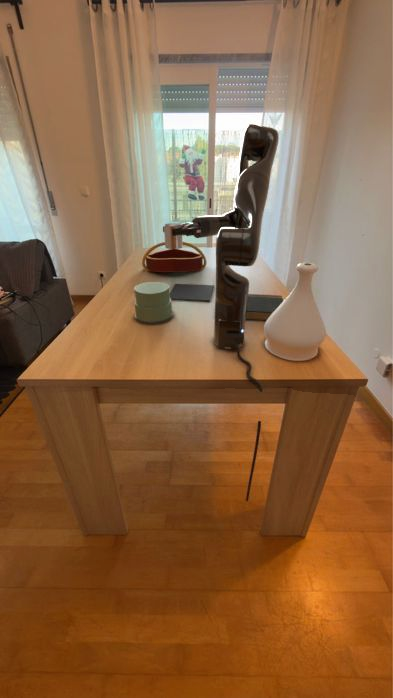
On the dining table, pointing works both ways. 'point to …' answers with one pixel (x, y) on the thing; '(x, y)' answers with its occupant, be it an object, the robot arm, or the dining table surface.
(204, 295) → the slate mat
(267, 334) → the vase
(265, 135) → the robot arm
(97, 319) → the dining table surface
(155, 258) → the decorative basket
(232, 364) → the dining table surface
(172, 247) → the steel cup
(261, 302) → the book
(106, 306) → the dining table surface
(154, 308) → the green round container
